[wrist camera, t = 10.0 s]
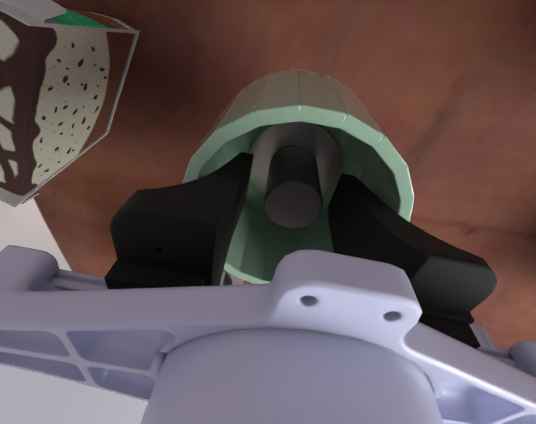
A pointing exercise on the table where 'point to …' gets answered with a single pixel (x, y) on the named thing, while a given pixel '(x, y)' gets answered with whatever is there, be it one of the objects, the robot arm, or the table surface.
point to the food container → (55, 88)
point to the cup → (312, 111)
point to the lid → (294, 170)
